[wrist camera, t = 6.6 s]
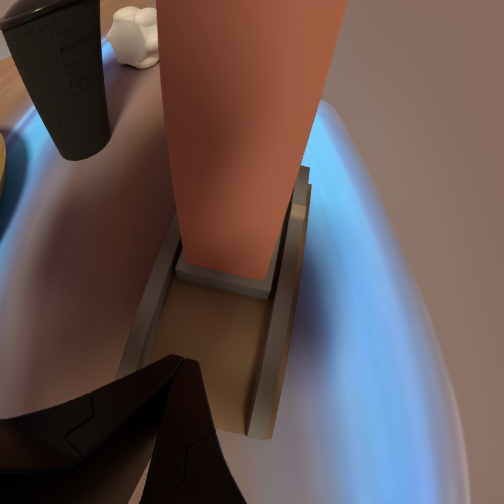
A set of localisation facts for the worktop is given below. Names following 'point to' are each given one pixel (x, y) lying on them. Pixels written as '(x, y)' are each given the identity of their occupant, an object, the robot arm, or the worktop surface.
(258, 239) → the post
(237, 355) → the press track
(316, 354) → the worktop surface
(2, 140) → the plant saucer
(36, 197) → the worktop surface
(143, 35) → the bone shaped toy
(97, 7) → the drinking cup
